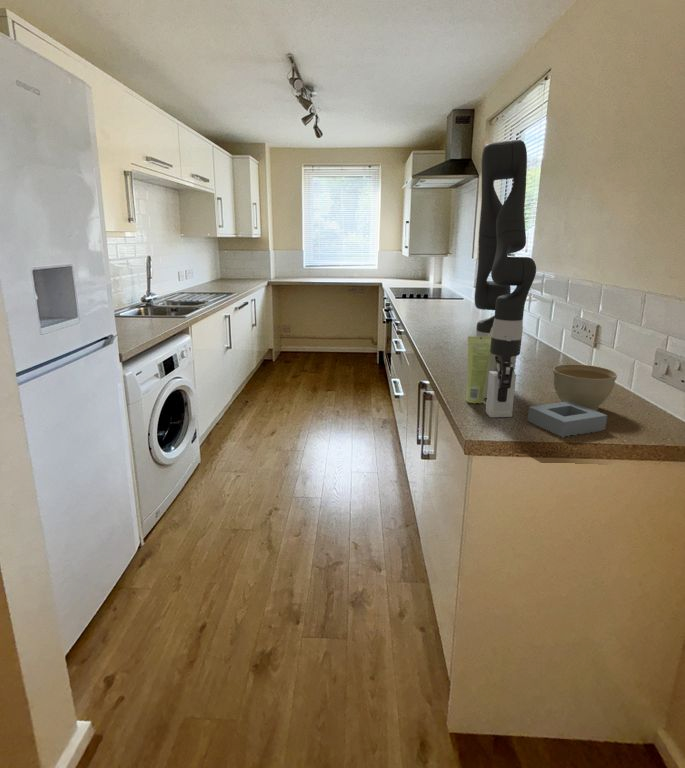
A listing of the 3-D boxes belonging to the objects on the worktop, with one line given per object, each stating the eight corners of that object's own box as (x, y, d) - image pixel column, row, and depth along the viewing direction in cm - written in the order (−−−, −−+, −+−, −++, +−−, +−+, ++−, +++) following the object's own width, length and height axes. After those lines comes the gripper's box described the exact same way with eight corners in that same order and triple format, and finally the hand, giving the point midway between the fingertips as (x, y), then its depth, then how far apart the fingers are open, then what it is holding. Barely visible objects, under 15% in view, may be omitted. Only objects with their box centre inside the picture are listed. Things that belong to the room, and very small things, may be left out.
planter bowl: (548, 396, 150) (552, 361, 147) (606, 402, 145) (613, 367, 141) (548, 412, 136) (553, 374, 133) (614, 420, 130) (621, 381, 127)
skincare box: (505, 412, 136) (510, 369, 132) (512, 417, 131) (517, 374, 128) (484, 412, 135) (488, 370, 132) (490, 418, 131) (494, 374, 127)
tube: (471, 397, 148) (477, 333, 143) (487, 401, 145) (493, 336, 139) (462, 401, 144) (467, 336, 139) (478, 405, 141) (484, 338, 135)
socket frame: (527, 421, 129) (529, 406, 128) (568, 414, 134) (570, 401, 133) (562, 437, 118) (564, 422, 117) (604, 430, 123) (607, 415, 122)
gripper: (488, 330, 134) (482, 389, 139) (495, 340, 121) (489, 405, 125) (516, 331, 133) (509, 391, 138) (527, 342, 120) (519, 407, 124)
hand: (500, 397), depth 132 cm, fingers open, 5 cm apart
